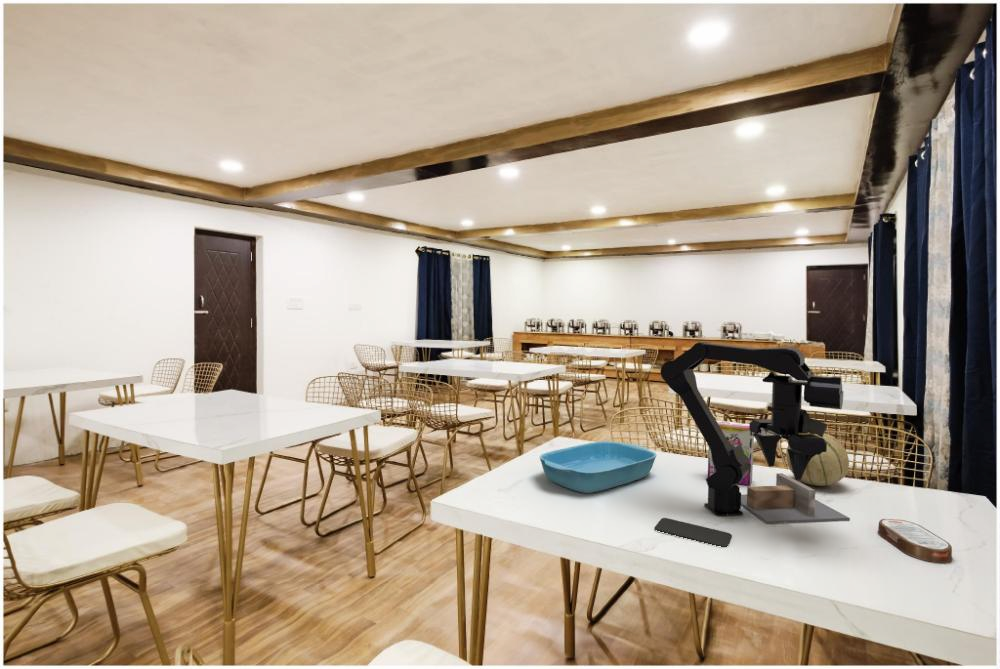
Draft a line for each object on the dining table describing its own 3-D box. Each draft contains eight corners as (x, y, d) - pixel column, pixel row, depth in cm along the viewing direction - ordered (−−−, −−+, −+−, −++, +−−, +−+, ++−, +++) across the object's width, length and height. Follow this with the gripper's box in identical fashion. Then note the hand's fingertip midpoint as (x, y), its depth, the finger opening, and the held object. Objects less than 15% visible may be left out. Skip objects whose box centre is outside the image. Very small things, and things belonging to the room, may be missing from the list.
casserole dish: (610, 457, 167) (610, 435, 166) (670, 475, 149) (670, 451, 148) (524, 480, 144) (524, 455, 144) (582, 505, 126) (582, 477, 126)
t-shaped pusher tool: (765, 517, 117) (766, 491, 117) (736, 497, 129) (737, 474, 129) (814, 515, 118) (815, 490, 118) (781, 496, 130) (782, 473, 130)
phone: (726, 547, 103) (652, 528, 112) (726, 551, 103) (652, 532, 112) (733, 533, 110) (662, 516, 118) (732, 537, 110) (662, 520, 118)
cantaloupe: (851, 483, 141) (854, 430, 140) (843, 498, 130) (845, 440, 130) (791, 472, 151) (793, 422, 150) (779, 485, 140) (780, 431, 139)
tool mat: (767, 523, 115) (767, 521, 115) (729, 497, 131) (729, 494, 131) (849, 520, 117) (849, 517, 117) (802, 494, 133) (802, 492, 133)
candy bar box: (707, 479, 145) (708, 422, 144) (710, 474, 149) (711, 419, 148) (750, 487, 139) (752, 427, 138) (752, 481, 143) (754, 423, 142)
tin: (916, 561, 98) (963, 567, 97) (918, 545, 98) (966, 551, 97) (868, 528, 113) (909, 532, 112) (870, 514, 113) (910, 518, 112)
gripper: (853, 411, 104) (850, 486, 105) (792, 395, 123) (790, 459, 124) (801, 412, 103) (799, 488, 104) (749, 396, 122) (747, 460, 123)
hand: (784, 472), depth 114 cm, fingers open, 9 cm apart
